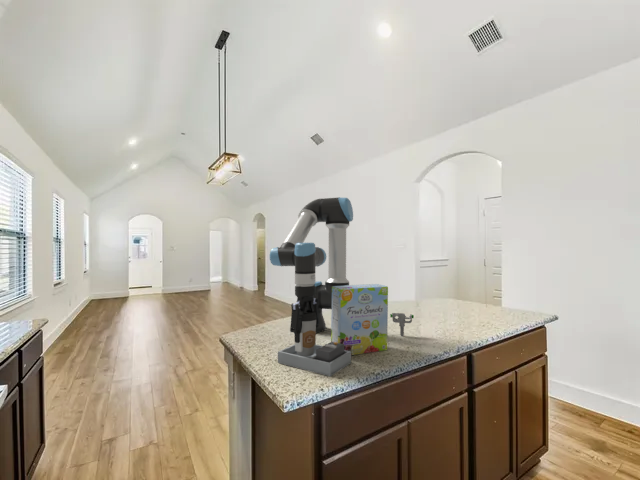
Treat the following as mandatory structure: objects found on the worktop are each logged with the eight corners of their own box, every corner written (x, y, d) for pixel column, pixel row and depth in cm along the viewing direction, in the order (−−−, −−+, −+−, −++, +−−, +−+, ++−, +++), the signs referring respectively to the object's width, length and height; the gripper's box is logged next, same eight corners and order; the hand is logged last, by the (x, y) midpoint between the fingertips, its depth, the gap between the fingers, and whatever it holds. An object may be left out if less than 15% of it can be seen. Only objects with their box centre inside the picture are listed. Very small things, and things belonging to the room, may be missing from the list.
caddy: (277, 362, 115) (277, 351, 115) (301, 351, 127) (301, 341, 127) (330, 376, 103) (330, 363, 103) (351, 362, 115) (350, 351, 115)
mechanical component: (413, 337, 145) (413, 315, 145) (390, 336, 147) (390, 314, 147) (413, 335, 148) (413, 313, 148) (390, 334, 150) (390, 312, 150)
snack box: (340, 358, 119) (339, 288, 119) (330, 351, 127) (329, 286, 127) (389, 350, 127) (388, 285, 128) (376, 344, 135) (376, 282, 136)
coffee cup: (299, 359, 111) (299, 315, 112) (290, 352, 119) (290, 311, 119) (321, 355, 115) (320, 313, 115) (310, 348, 123) (310, 309, 123)
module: (316, 367, 108) (316, 347, 108) (331, 358, 117) (331, 340, 117) (329, 370, 105) (329, 350, 106) (344, 361, 114) (344, 342, 114)
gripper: (296, 289, 107) (296, 358, 106) (328, 282, 124) (329, 342, 123) (278, 287, 111) (279, 354, 111) (312, 281, 128) (313, 339, 128)
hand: (305, 347), depth 117 cm, fingers closed on coffee cup, 7 cm apart
